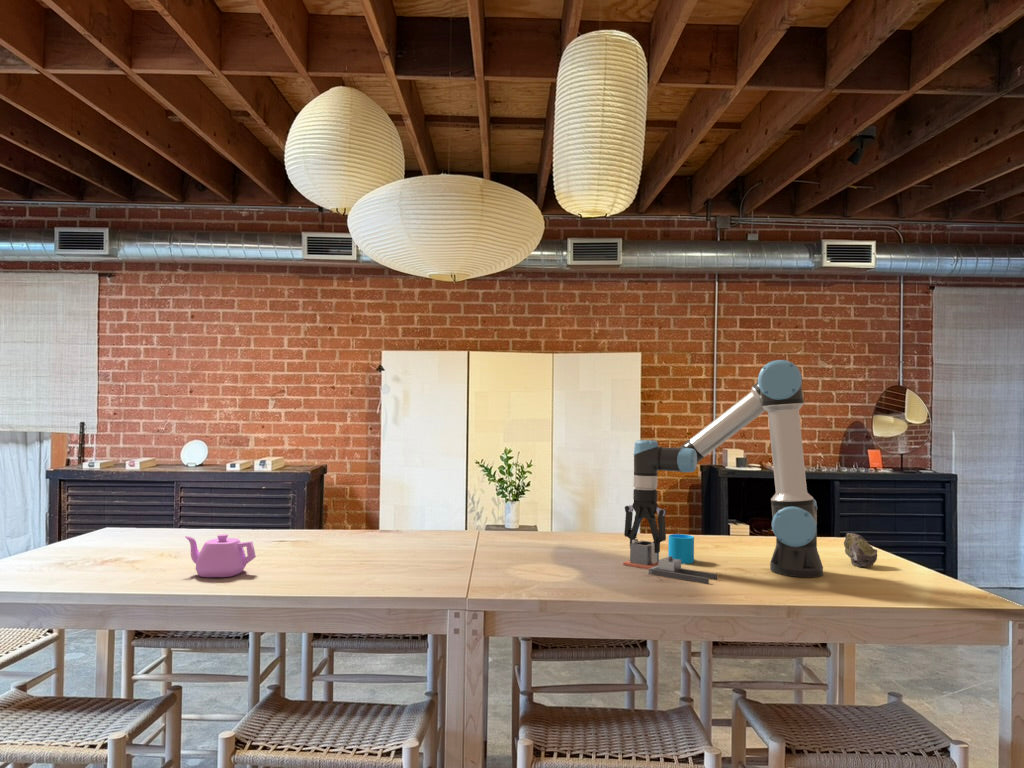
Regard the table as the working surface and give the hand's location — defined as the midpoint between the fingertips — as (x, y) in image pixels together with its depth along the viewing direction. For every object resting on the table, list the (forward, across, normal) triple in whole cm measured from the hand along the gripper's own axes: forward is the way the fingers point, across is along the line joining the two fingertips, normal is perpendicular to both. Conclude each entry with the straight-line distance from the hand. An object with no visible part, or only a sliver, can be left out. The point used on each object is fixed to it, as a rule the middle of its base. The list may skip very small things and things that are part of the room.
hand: (644, 561), depth 218 cm
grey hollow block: (0, 0, 0) cm, 0 cm away
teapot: (+2, +86, +95) cm, 128 cm away
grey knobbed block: (+1, -12, +7) cm, 14 cm away
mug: (+1, -5, -15) cm, 16 cm away
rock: (+1, -53, -47) cm, 71 cm away
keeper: (+1, 0, 0) cm, 1 cm away
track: (+1, -16, +7) cm, 18 cm away
